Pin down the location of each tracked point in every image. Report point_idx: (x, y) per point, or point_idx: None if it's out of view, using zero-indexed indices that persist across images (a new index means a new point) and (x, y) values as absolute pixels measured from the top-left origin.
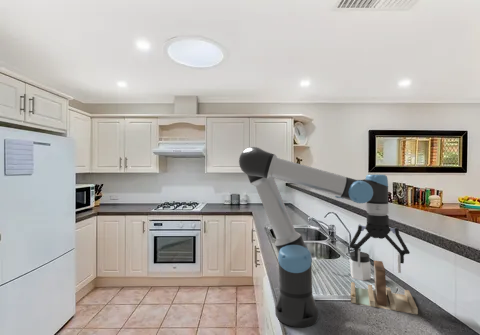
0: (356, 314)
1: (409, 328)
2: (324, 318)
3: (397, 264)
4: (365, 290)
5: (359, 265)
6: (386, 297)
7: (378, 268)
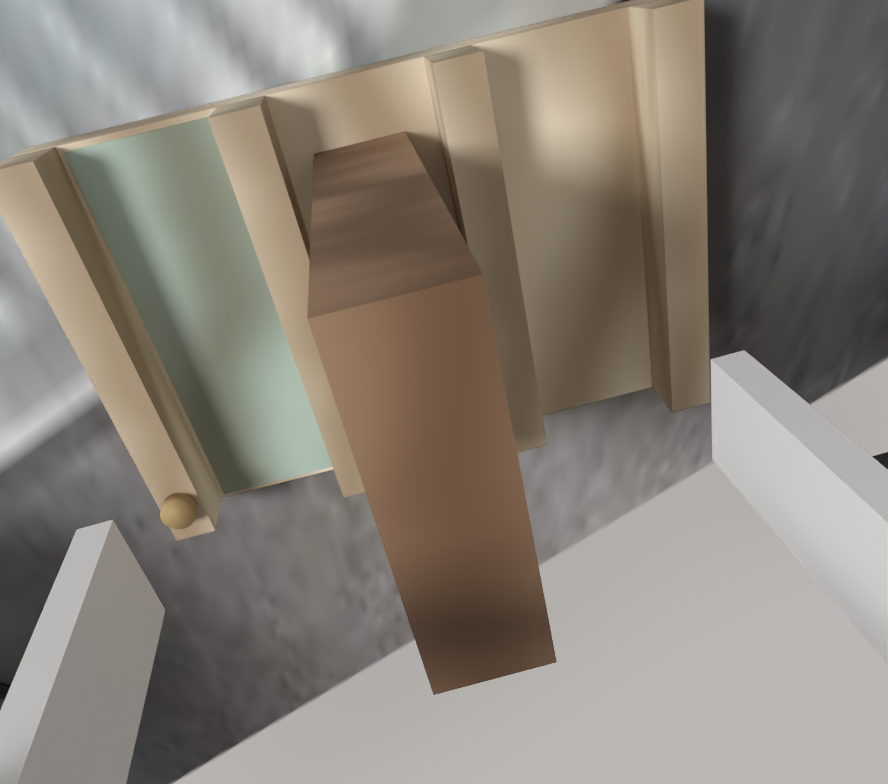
0: (269, 556)
1: (602, 509)
2: None
3: (772, 458)
4: (202, 170)
5: (148, 635)
6: None
7: (462, 651)
